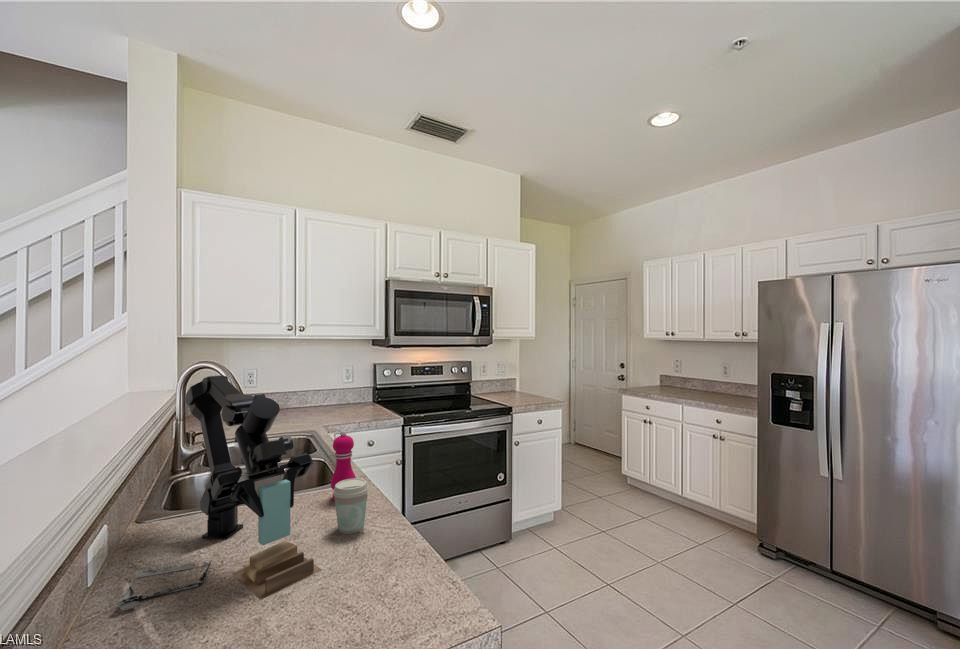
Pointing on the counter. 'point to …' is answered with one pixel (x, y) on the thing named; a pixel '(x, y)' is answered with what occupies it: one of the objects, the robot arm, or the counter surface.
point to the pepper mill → (342, 459)
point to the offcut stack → (269, 557)
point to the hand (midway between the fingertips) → (277, 511)
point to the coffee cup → (351, 505)
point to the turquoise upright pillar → (274, 512)
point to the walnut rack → (279, 575)
